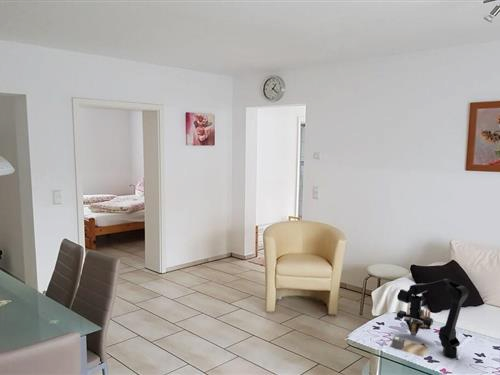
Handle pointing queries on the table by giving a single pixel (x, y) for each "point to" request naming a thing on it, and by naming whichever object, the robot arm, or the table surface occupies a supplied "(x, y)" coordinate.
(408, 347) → the board
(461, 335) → the table surface
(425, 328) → the ammunition clip
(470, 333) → the table surface
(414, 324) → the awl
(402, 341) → the box
